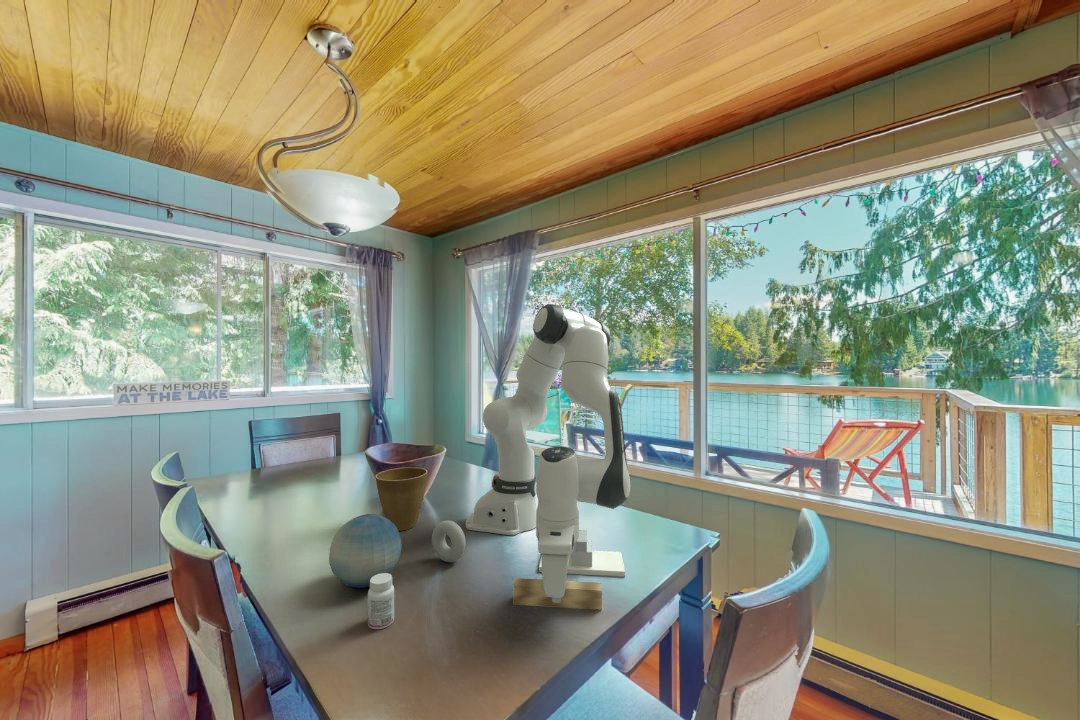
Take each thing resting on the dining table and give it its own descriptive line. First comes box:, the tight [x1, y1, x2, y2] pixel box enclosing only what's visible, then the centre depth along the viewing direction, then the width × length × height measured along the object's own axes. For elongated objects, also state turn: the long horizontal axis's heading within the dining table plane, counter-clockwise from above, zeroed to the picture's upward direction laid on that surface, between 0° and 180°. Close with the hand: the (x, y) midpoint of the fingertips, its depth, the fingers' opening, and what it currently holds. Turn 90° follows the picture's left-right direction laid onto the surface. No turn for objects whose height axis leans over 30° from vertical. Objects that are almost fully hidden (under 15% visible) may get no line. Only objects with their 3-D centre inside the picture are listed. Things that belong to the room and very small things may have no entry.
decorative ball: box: [328, 513, 402, 589], centre depth 94 cm, size 15×15×15 cm
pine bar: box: [512, 577, 603, 611], centre depth 86 cm, size 18×3×4 cm, turn 84°
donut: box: [431, 520, 467, 563], centre depth 104 cm, size 10×4×10 cm, turn 61°
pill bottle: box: [367, 573, 395, 630], centre depth 80 cm, size 5×5×8 cm
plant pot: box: [375, 466, 428, 532], centre depth 126 cm, size 15×15×16 cm
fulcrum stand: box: [538, 529, 626, 578], centre depth 103 cm, size 20×10×7 cm, turn 84°
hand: (557, 594), depth 86 cm, fingers closed on pine bar, 3 cm apart
